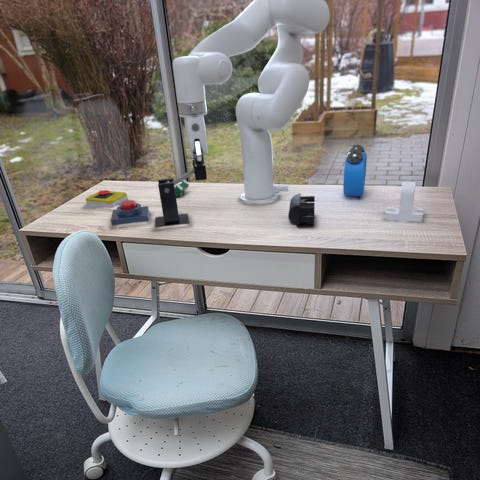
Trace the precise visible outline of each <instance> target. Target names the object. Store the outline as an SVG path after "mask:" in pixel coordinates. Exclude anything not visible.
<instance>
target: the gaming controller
mask: <svg viewBox="0 0 480 480" xmlns="http://www.w3.org/2000/svg"><path fill="white" fill-rule="evenodd" d="M189 186H190V183H189V181H187V180H186V179H184V180H182V181H181V182H180V183H178V184H176V185H175V193H176V197H181V196H182V195H183V194H185V192H186V190H187V188H188V187H189Z"/></svg>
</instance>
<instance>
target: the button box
mask: <svg viewBox="0 0 480 480" xmlns="http://www.w3.org/2000/svg"><path fill="white" fill-rule="evenodd" d="M135 203H136V208H134V209H131V210H122V208H121V205H119V206H116V209H112V213H111V217H110V223H111V224H110V225H111V226H119V225H129V224H134V223H135V224H137V223H143V222H149V220H150V219H149V218H150V209H149V208H150V207H149V205H143V206H142V204H140V203H138V202H135Z"/></svg>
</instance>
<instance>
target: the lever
mask: <svg viewBox="0 0 480 480" xmlns="http://www.w3.org/2000/svg"><path fill="white" fill-rule="evenodd" d="M194 173H195V172H194V168H193V167H192V168H191V169H189V171H187V172H185V173H184V174H182V175H180V176H179V177H177V178H175V179H173V180H174V181H172V182H174V186H177V185H179V184H180V183H182V182H183V181H184V180H186V179H187V178H189V177H190V176H192V175H195V174H194ZM165 183H170V182H169V181H167V182H165Z"/></svg>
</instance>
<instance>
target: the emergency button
mask: <svg viewBox="0 0 480 480" xmlns="http://www.w3.org/2000/svg"><path fill="white" fill-rule="evenodd" d="M128 200H129V197H128V194H127V192H125V191H124V192H123V191H115V190H108V189H105V190H103V189H102V190H99V191H97V192H95V193H93V194H91V195H89V196H87V197H85V204H83V207H84V208H86V209H92V210H93V209H94V210H96V209H101V208H102V209H103V208H109V209H111V208H116V207H119V206H120V205H121V203H122V202H124V201H128Z"/></svg>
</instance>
